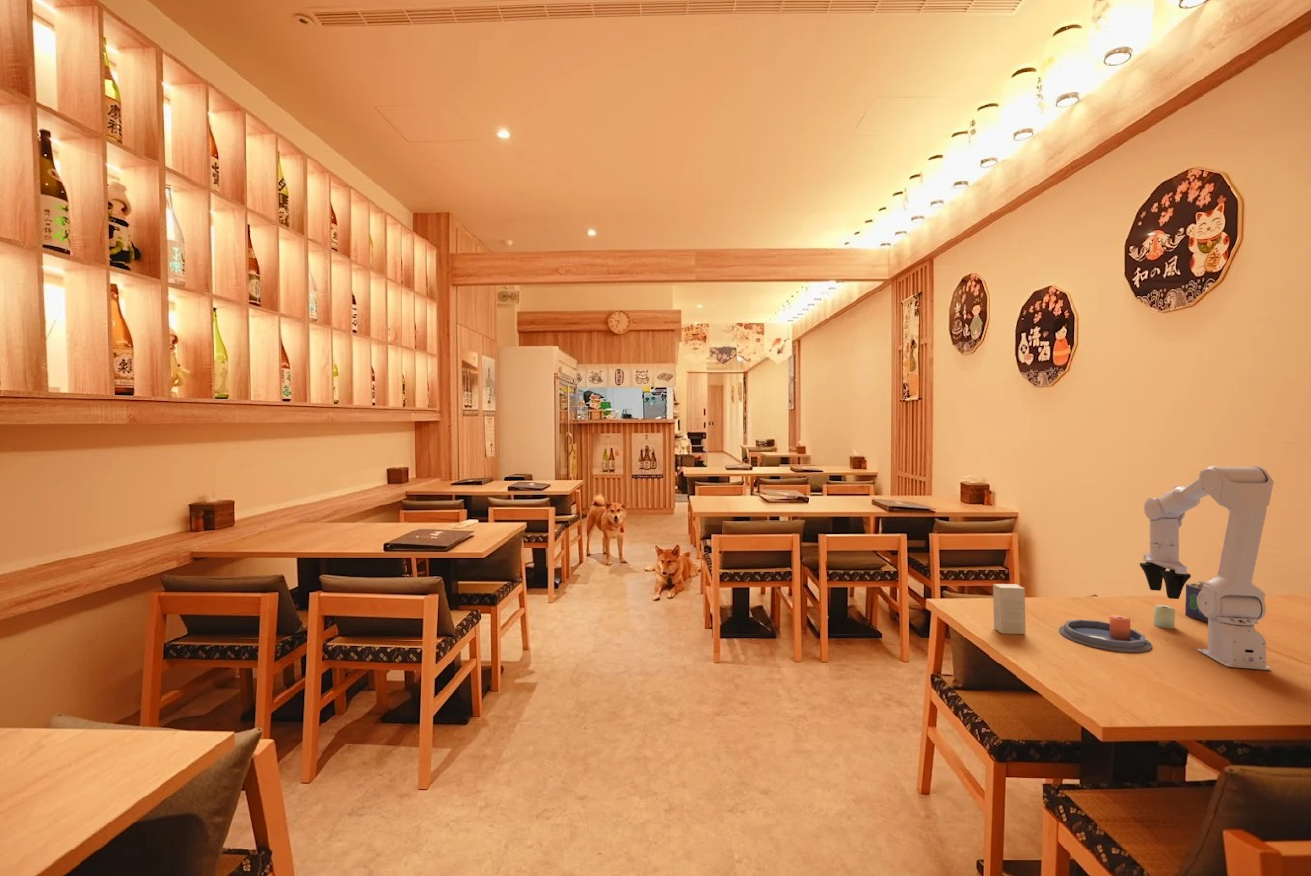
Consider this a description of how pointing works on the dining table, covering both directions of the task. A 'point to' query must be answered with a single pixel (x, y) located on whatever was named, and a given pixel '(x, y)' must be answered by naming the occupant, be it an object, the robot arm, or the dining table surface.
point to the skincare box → (1009, 608)
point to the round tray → (1103, 636)
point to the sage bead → (1164, 616)
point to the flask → (1194, 602)
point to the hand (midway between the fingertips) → (1164, 594)
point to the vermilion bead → (1120, 627)
